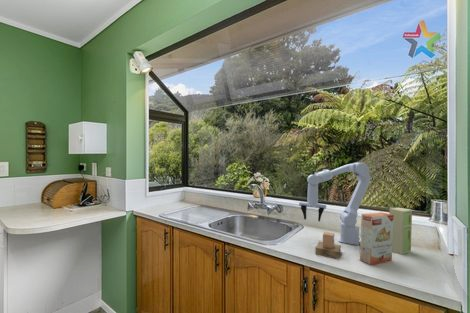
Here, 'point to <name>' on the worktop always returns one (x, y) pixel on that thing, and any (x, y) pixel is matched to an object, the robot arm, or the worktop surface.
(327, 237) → the tan block
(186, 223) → the worktop surface
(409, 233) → the toy refrigerator
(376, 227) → the cracker box
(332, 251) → the walnut block
